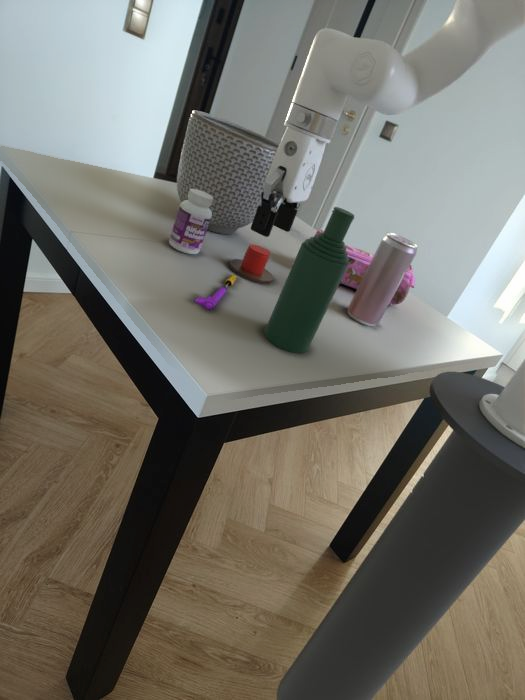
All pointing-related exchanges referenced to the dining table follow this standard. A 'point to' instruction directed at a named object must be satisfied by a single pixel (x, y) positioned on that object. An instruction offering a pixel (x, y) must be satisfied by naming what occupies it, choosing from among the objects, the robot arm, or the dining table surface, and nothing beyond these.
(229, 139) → the planter
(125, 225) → the dining table surface
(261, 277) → the coaster
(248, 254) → the cap
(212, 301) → the purple tool
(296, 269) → the bottle
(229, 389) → the dining table surface
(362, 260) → the pencil case
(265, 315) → the dining table surface
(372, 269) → the beverage can
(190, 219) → the pill bottle
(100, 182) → the dining table surface
